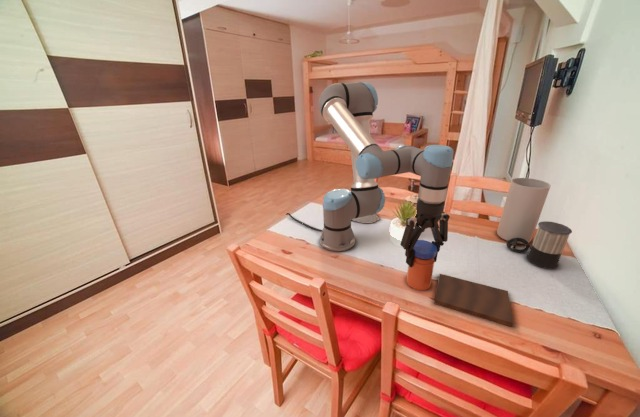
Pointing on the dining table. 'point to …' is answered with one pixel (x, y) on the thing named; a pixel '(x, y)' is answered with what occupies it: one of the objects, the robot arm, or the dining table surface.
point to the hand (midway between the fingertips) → (420, 262)
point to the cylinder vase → (522, 208)
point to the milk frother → (544, 244)
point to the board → (474, 299)
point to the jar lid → (425, 249)
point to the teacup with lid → (412, 199)
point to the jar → (420, 273)
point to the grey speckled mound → (367, 219)
